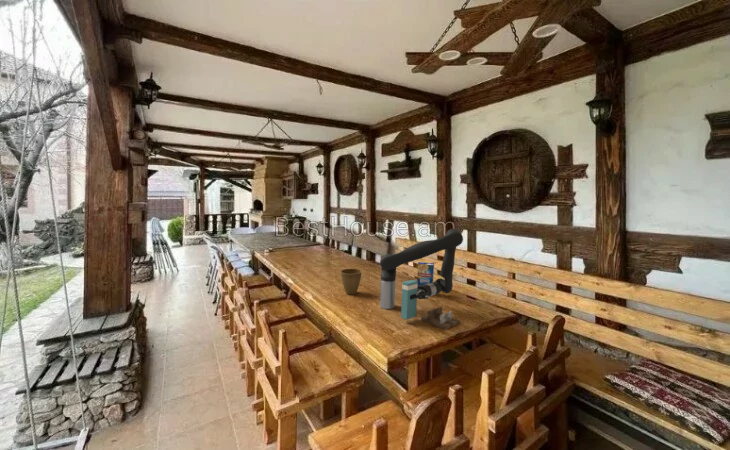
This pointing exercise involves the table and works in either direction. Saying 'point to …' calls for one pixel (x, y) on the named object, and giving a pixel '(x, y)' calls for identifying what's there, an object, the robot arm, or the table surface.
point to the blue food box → (425, 273)
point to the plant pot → (351, 280)
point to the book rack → (440, 319)
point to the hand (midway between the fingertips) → (407, 296)
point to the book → (408, 299)
